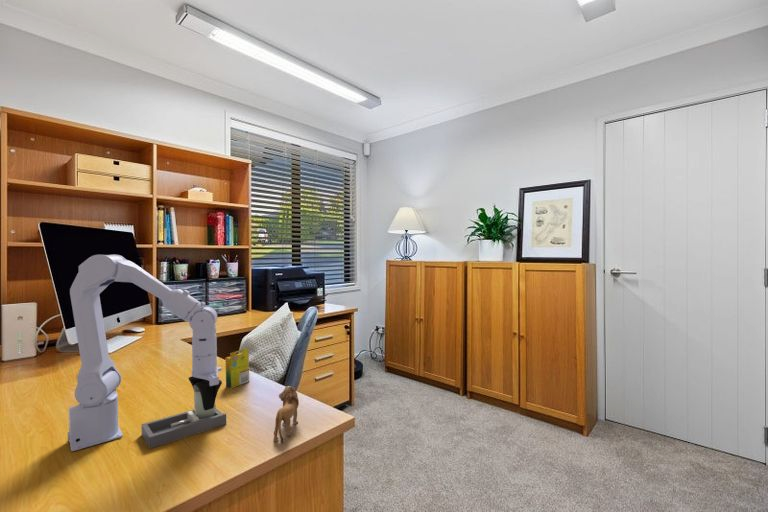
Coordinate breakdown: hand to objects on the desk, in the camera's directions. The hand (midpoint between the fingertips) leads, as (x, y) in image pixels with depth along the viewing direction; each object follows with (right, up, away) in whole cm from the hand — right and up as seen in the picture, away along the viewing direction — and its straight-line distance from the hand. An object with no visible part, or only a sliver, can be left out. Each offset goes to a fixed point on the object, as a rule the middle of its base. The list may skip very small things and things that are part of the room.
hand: (205, 405), depth 95 cm
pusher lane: (-3, -5, -3) cm, 7 cm away
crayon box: (-3, -4, +28) cm, 28 cm away
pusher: (-4, -4, -4) cm, 6 cm away
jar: (0, -2, 0) cm, 2 cm away
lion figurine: (+22, -5, -3) cm, 23 cm away
